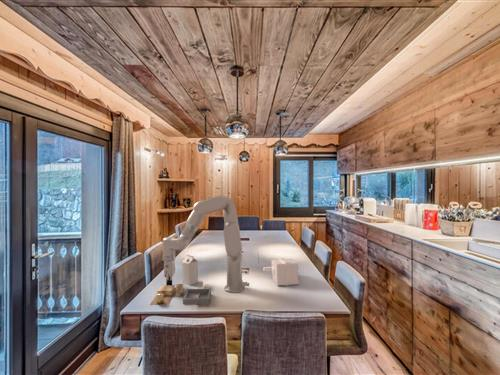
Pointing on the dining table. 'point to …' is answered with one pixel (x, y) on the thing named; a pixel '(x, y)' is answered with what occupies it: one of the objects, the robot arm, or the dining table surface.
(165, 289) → the thick square wood block
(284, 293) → the dining table surface
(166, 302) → the board
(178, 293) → the dowel
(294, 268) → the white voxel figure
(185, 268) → the milk carton
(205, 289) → the tray
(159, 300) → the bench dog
